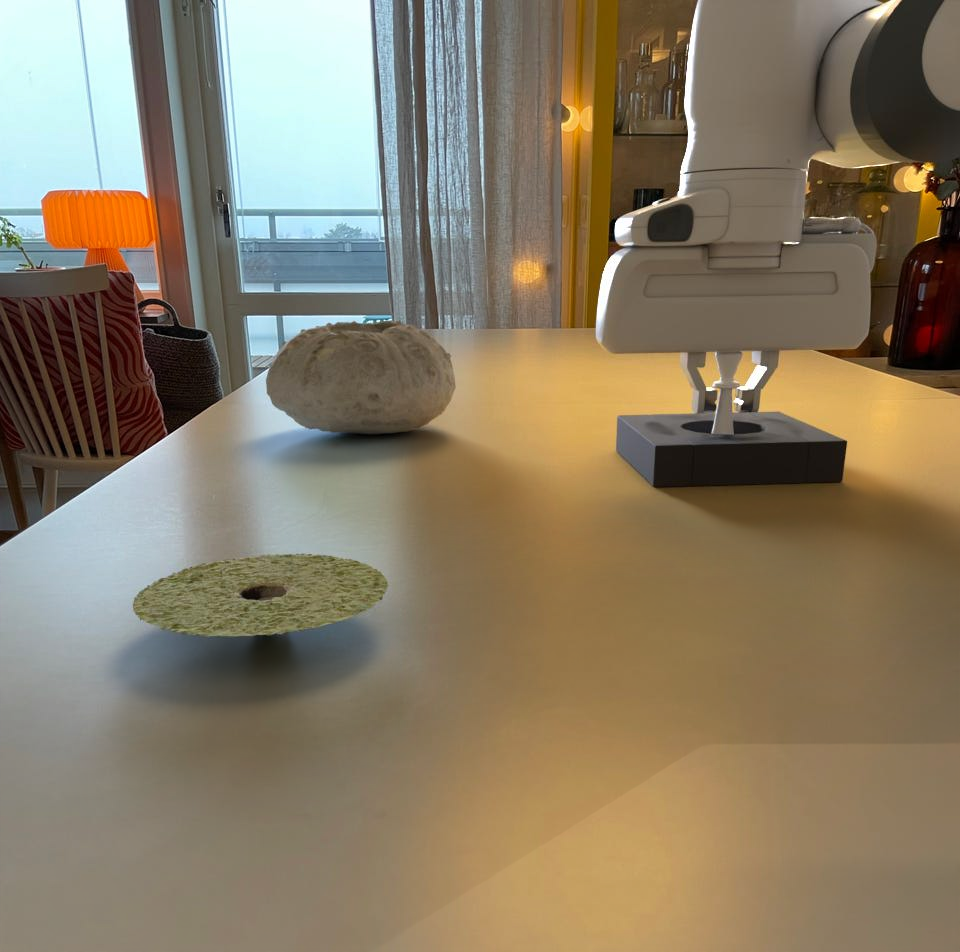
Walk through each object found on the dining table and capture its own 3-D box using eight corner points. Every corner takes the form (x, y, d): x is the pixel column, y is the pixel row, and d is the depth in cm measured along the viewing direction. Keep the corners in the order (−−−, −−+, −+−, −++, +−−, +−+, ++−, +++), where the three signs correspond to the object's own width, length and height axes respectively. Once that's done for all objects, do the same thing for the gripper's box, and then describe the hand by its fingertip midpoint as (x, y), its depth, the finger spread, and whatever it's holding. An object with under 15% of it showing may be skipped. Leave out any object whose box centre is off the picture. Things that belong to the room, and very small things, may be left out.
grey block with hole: (775, 446, 84) (779, 411, 82) (842, 482, 71) (847, 440, 69) (615, 450, 83) (617, 415, 82) (653, 487, 70) (655, 445, 69)
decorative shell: (452, 447, 85) (449, 328, 81) (251, 449, 86) (239, 331, 82) (460, 415, 102) (458, 315, 98) (292, 417, 102) (283, 317, 98)
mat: (440, 625, 44) (439, 585, 44) (226, 703, 37) (220, 656, 36) (296, 574, 52) (293, 539, 51) (94, 631, 44) (87, 590, 44)
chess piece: (683, 462, 75) (692, 327, 72) (694, 450, 80) (703, 322, 76) (748, 466, 74) (761, 328, 70) (756, 453, 78) (768, 323, 74)
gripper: (861, 217, 74) (838, 403, 79) (594, 221, 72) (589, 409, 78) (899, 214, 68) (872, 415, 73) (610, 218, 67) (603, 421, 72)
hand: (724, 412), depth 75 cm, fingers closed on chess piece
